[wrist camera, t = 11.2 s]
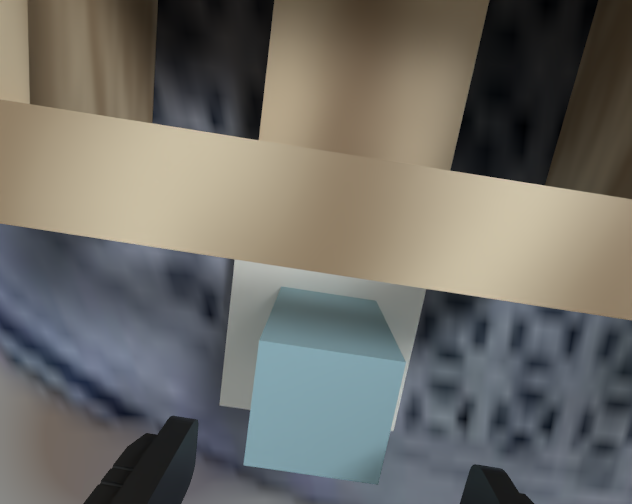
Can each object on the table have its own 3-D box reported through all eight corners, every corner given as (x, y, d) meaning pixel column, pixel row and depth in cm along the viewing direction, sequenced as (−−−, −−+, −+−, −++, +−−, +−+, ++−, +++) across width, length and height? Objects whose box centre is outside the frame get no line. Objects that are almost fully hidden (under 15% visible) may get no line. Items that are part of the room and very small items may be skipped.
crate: (635, -48, 14) (1358, -593, 4) (543, 257, 17) (853, 354, 7) (141, -131, 14) (-304, -917, 4) (129, 193, 17) (-152, 200, 7)
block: (376, 300, 17) (405, 362, 11) (359, 385, 18) (377, 484, 12) (281, 286, 17) (259, 340, 11) (269, 372, 18) (243, 465, 12)
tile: (427, 258, 17) (432, 262, 16) (390, 421, 19) (393, 431, 18) (241, 230, 17) (237, 231, 16) (223, 396, 19) (219, 405, 18)
